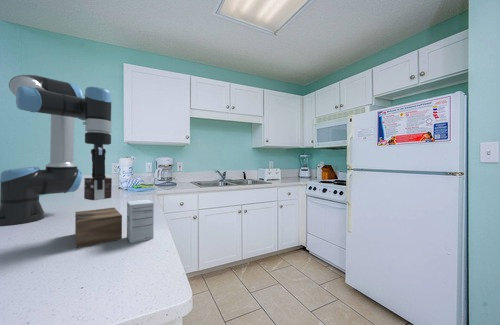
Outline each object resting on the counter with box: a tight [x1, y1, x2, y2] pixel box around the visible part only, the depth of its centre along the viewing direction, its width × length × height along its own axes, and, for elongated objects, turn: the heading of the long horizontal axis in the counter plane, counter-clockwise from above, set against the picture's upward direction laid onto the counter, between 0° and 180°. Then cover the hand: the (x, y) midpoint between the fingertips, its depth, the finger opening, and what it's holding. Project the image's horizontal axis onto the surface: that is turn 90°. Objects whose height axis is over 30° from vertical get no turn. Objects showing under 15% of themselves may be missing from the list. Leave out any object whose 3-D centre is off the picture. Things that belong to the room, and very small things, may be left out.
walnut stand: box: [74, 207, 123, 249], centre depth 74 cm, size 16×12×8 cm
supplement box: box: [126, 199, 155, 244], centre depth 73 cm, size 7×7×13 cm
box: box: [83, 176, 113, 201], centre depth 74 cm, size 6×6×7 cm
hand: (98, 197), depth 74 cm, fingers closed on box, 8 cm apart
